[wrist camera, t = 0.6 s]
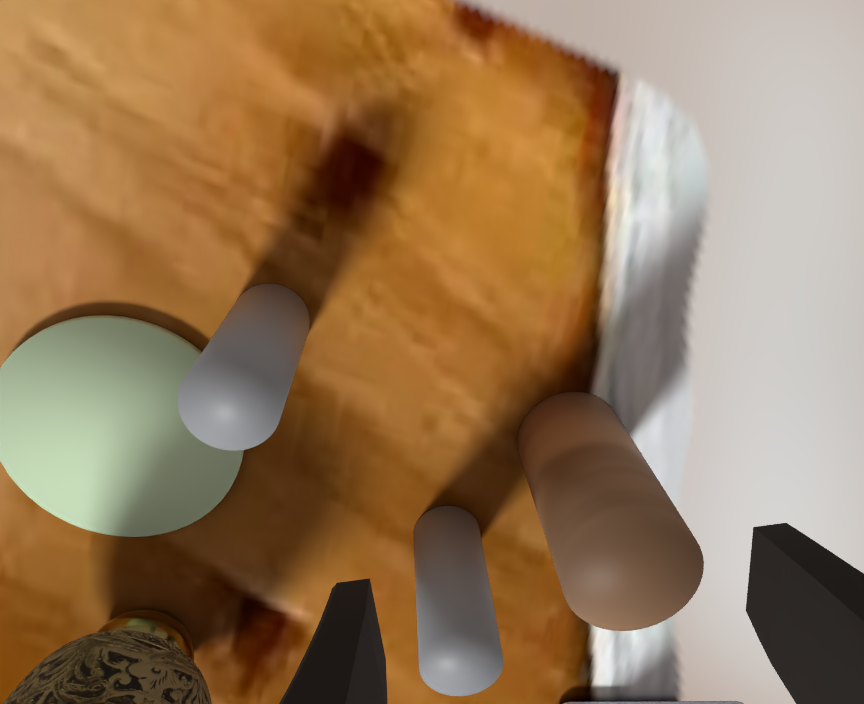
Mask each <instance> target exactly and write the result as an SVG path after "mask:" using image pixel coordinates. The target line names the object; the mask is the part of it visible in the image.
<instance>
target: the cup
mask: <svg viewBox="0 0 864 704" xmlns="http://www.w3.org/2000/svg"><path fill="white" fill-rule="evenodd" d="M3 704H212V703H211V698H210V694H209V690H208V686H207V684H206V682H205V679H204V677H203V675H202V673H201V672H200V670H199V668H198V667H197V666H196V664H195V663H194V651H193V645H192V641H191V638H190V636H189V634H188V632H187V630H186V629H185V628H184V627H183V625H182V624H181V623H179V622H178V621H177V620H175V619H174V618H172V617H171V616H169V615H166V614H164V613H161V612H158V611H153V610H133V611H129V612H125V613H123V614H120V615H118V616H117V617H115V618H113V619H112V620H110V621H109V622H108V623H106V624H105V625H104V626H103V627H102V628H100V629H99V631H98V632H97V633H94V634H90V635H87V636H84V637H81V638H79V639H77V640H74V641H72V642H70V643H68V644H66V645H64V646H63V647H61V648H60V649H58V650H57V651H55V652H54V653H52V654H51V655H49V656H48V657H46V658H45V659H44V660H43V661H42V662H41V663H40V664H39V665H38V666H37V667H35V668H34V669H33V670H32V671H31V672H30V673H29V674H28V675H27V676H26V677H25V678H24V680H23V681H22V682H21V683H20V684H19V685H18V686H17V687H16V689H15V690H14V691H13V692H12V693H11V694H10V696H9V697H8V698H7V699H6V700H5V702H4V703H3Z"/></svg>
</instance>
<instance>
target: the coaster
mask: <svg viewBox="0 0 864 704" xmlns="http://www.w3.org/2000/svg"><path fill="white" fill-rule="evenodd" d="M201 353H202V351H200V350H199V349H198V348H197V347H195V346H194V345H193V344H191V343H190V342H189V341H187V340H185V339H184V338H182V337H180V336H179V335H177V334H175V333H173V332H171V331H169V330H167V329H165V328H163V327H160V326H158V325H155V324H152V323H149V322H146V321H143V320H138V319H134V318H129V317H123V316H112V315H92V316H84V317H78V318H72V319H69V320H65V321H62V322H59V323H56V324H54V325H52V326H49V327H47V328H45V329H43V330H41V331H40V332H38V333H37V334H35V335H34V336H32V337H30V338H29V339H28V340H26V341H25V342H24V343H23V344H22V345H20V346H19V347H18V348H17V349H16V350H15V351H14V352H13V353H12V354H11V355H10V356H9V357H8V359H7V360H6V361H5V362H4V364H3V365H2V367H1V369H0V461H1V463H2V464H3V466H4V468H5V469H6V471H7V472H8V474H9V475H10V477H11V478H12V479H13V480H14V482H15V483H16V484H17V485H18V487H19V488H20V489H21V490H22V491H23V492H24V493H25V494H26V495H27V496H28V497H30V498H31V499H32V500H33V501H34V502H36V503H37V504H38V505H39V506H41V507H42V508H44V509H45V510H47V511H48V512H50V513H51V514H53V515H54V516H56V517H58V518H60V519H62V520H64V521H66V522H68V523H70V524H73V525H75V526H78V527H81V528H83V529H86V530H90V531H93V532H97V533H101V534H107V535H113V536H124V537H143V536H152V535H159V534H164V533H167V532H171V531H175V530H178V529H180V528H182V527H185V526H187V525H190V524H191V523H193V522H195V521H197V520H199V519H200V518H202V517H203V516H205V515H206V514H207V513H209V512H210V511H211V510H212V509H213V508H214V507H215V506H216V505H217V504H218V503H219V502H220V501H221V500H222V499H223V498H224V496H225V495H226V494H227V492H228V491H229V490H230V488H231V486H232V484H233V482H234V480H235V478H236V476H237V473H238V471H239V468H240V465H241V462H242V459H243V454H244V450H238V451H230V450H222V449H218V448H215V447H212V446H210V445H207V444H205V443H204V442H202V441H200V440H199V439H198V438H196V437H195V436H194V435H193V434H192V433H191V432H190V431H189V430H188V429H187V427H186V426H185V424H184V423H183V421H182V419H181V417H180V414H179V410H178V401H177V398H178V392H179V389H180V386H181V384H182V382H183V380H184V379H185V377H186V376H187V374H188V373H189V371H190V370H191V368H192V367H193V365H194V364H195V362H196V361H197V359H198V358H199V356H200V355H201Z"/></svg>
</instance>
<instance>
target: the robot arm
mask: <svg viewBox="0 0 864 704" xmlns="http://www.w3.org/2000/svg"><path fill="white" fill-rule="evenodd" d="M746 612H747V614H748V616H749V618H750V620H751V622H752V625H753V627H754V629H755V631H756V633H757V636H758V638H759V640H760V642H761V644H762V646H763V648H764V650H765V652H766V654H767V656H768V658H769V660H770V662H771V664H772V666H773V667H774V669H775V670H776V672H777V674H778V675H779V677H780V678H781V680H782V682H783V683H784V685H785V686H786V688H787V689H788V691H789V693H790V694H791V696H792V697H793V699H794V701H795V702H796V704H864V574H863V573H862V572H860V571H859V570H857V569H856V568H854V567H852V566H851V565H850V564H848V563H847V562H845V561H844V560H842V559H840V558H839V557H837V556H836V555H834V554H833V553H831V552H830V551H828V550H827V549H825V548H824V547H822V546H821V545H819V544H818V543H816V542H815V541H813V540H812V539H810V538H809V537H807V536H806V535H804V534H803V533H801V532H799V531H798V530H797V529H795V528H793V527H792V526H790V525H789V524H787V523H782V524H774V525H767V526H760V527H754V528H753V539H752V550H751V561H750V573H749V583H748V593H747V604H746ZM280 704H387V681H386V659H385V654H384V649H383V644H382V638H381V633H380V628H379V623H378V618H377V613H376V608H375V603H374V598H373V593H372V588H371V583H370V579H363V580H356V581H348V582H341V583H337V584H336V585H335V586H334V587H333V588H332V591H331V594H330V597H329V599H328V602H327V605H326V607H325V610H324V612H323V615H322V617H321V620H320V622H319V625H318V627H317V629H316V631H315V634H314V636H313V638H312V641H311V643H310V645H309V647H308V649H307V651H306V653H305V655H304V657H303V659H302V661H301V664H300V666H299V668H298V670H297V672H296V674H295V676H294V678H293V680H292V682H291V684H290V686H289V687H288V689H287V691H286V693H285V695H284V696H283V698H282V700H281V702H280ZM563 704H743V703H741V702H737V701H706V702H705V701H697V702H695V701H694V702H691V701H682V702H565V703H563Z"/></svg>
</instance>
